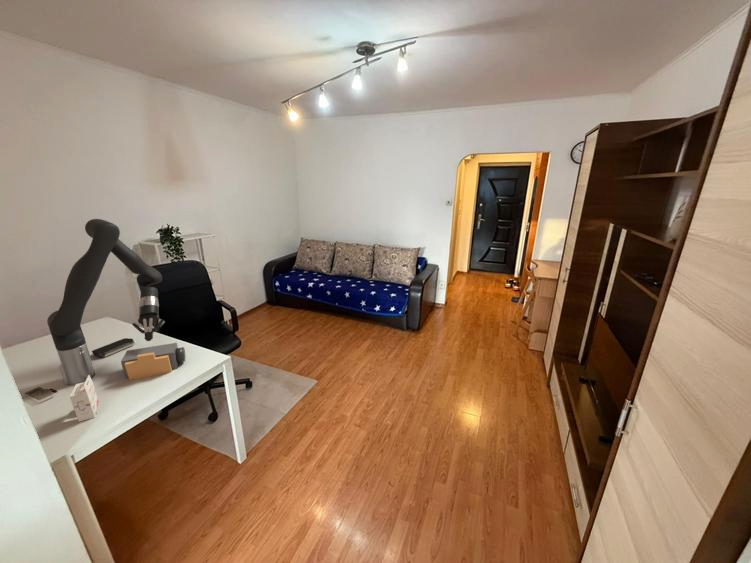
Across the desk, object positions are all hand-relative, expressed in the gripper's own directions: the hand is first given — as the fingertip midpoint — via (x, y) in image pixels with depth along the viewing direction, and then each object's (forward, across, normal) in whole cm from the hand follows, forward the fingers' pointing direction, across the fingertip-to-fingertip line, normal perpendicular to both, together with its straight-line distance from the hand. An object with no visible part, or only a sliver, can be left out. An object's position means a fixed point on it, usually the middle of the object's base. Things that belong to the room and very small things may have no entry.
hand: (148, 340), depth 139 cm
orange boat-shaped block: (+15, 0, +5) cm, 16 cm away
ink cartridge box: (+29, -17, -7) cm, 34 cm away
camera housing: (+12, +1, +10) cm, 16 cm away
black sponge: (-8, -22, +30) cm, 39 cm away
